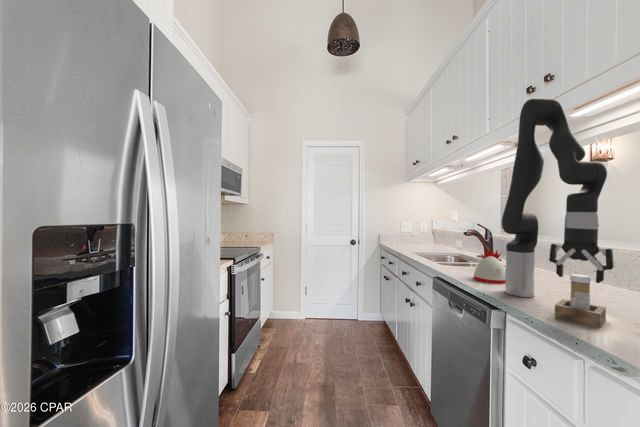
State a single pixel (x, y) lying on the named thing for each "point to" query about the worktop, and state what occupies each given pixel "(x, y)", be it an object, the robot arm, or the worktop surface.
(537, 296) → the worktop surface
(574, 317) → the walnut holder
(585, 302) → the sprinkles bottle
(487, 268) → the white rounded dome
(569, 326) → the worktop surface
